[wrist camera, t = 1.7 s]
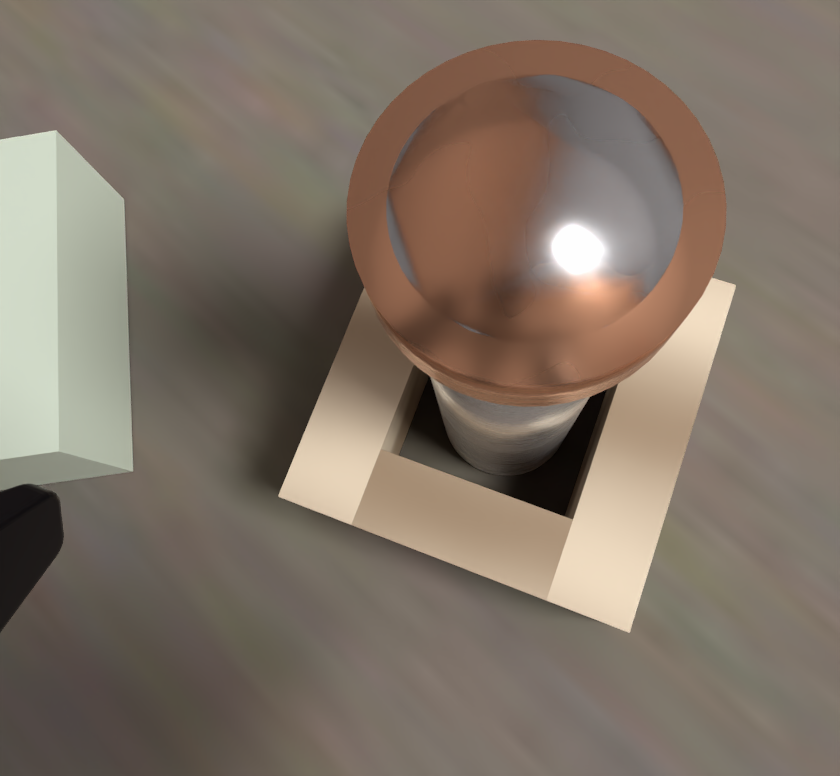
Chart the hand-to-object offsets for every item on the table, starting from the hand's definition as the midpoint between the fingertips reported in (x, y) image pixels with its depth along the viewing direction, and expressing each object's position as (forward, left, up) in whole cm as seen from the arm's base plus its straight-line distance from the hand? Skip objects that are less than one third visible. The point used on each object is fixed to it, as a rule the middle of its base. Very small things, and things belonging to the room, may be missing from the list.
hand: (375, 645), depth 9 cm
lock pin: (+5, +3, -12) cm, 13 cm away
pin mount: (+5, +3, -12) cm, 13 cm away
